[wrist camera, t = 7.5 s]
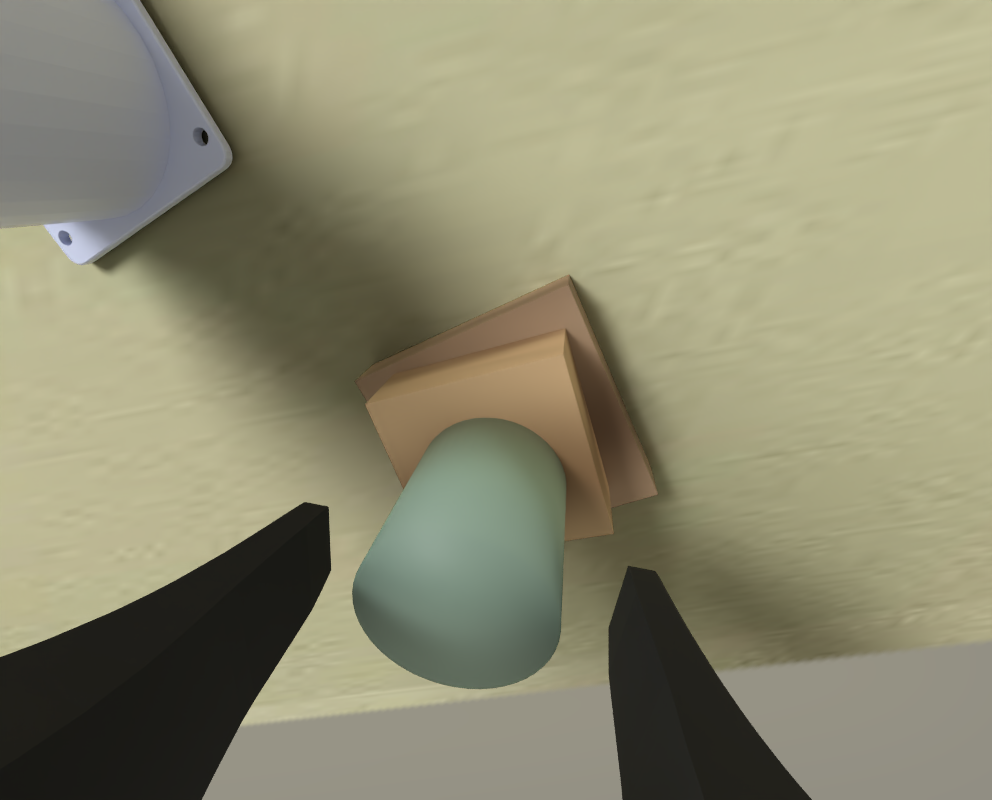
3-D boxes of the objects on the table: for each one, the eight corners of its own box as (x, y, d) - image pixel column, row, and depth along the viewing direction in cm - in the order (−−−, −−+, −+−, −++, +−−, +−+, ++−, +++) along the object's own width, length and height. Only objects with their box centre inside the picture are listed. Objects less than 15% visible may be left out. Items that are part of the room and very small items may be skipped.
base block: (380, 357, 19) (354, 381, 17) (569, 270, 17) (568, 284, 14) (472, 512, 22) (460, 551, 19) (648, 457, 19) (657, 494, 17)
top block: (393, 373, 16) (364, 404, 14) (565, 327, 15) (563, 354, 13) (453, 514, 19) (436, 560, 16) (609, 487, 17) (613, 533, 15)
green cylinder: (427, 403, 14) (354, 509, 9) (581, 435, 14) (582, 561, 9) (415, 524, 16) (350, 660, 11) (550, 555, 15) (538, 708, 11)
